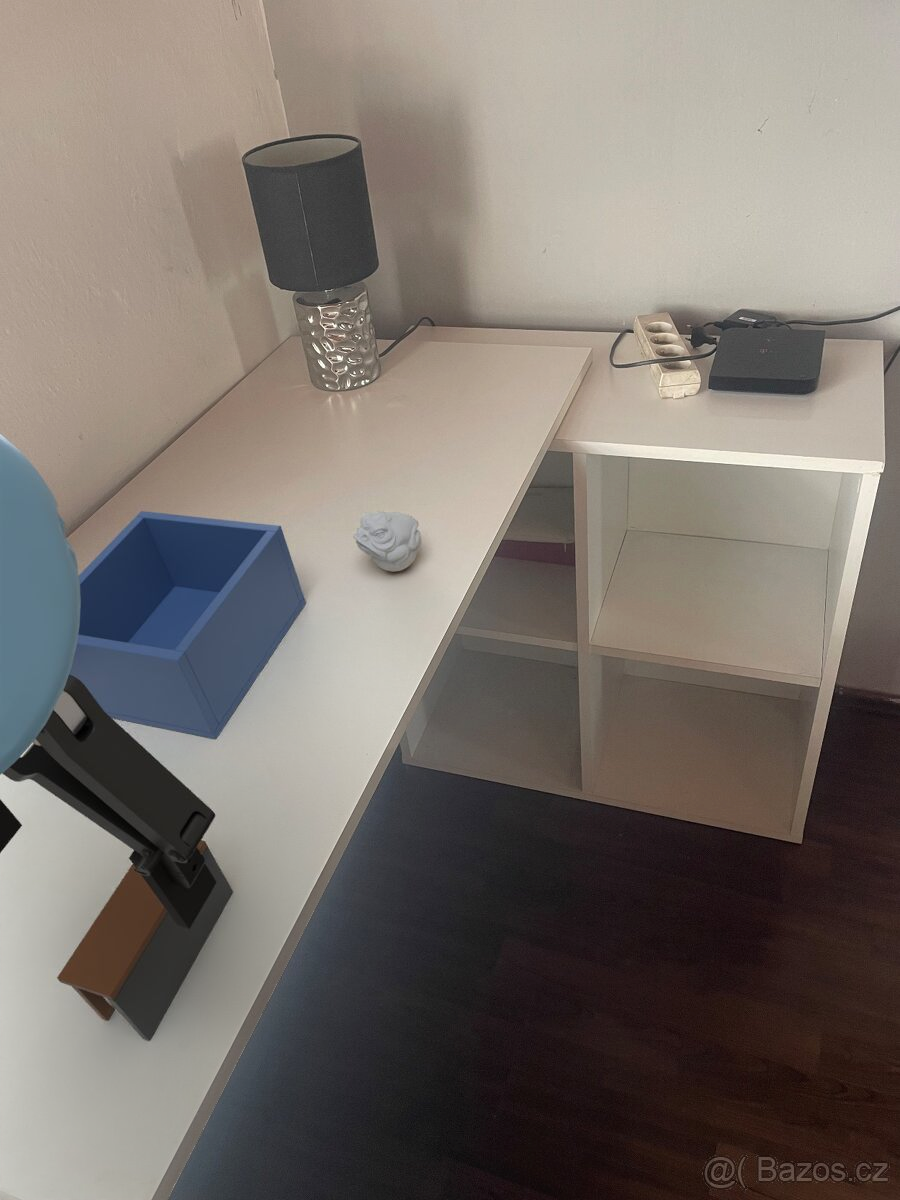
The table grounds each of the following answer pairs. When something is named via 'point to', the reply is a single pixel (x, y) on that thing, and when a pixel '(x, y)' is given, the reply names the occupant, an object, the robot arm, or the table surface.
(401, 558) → the frog figurine
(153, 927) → the two-tone wooden bracket
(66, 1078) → the table surface
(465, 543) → the table surface
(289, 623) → the bin
